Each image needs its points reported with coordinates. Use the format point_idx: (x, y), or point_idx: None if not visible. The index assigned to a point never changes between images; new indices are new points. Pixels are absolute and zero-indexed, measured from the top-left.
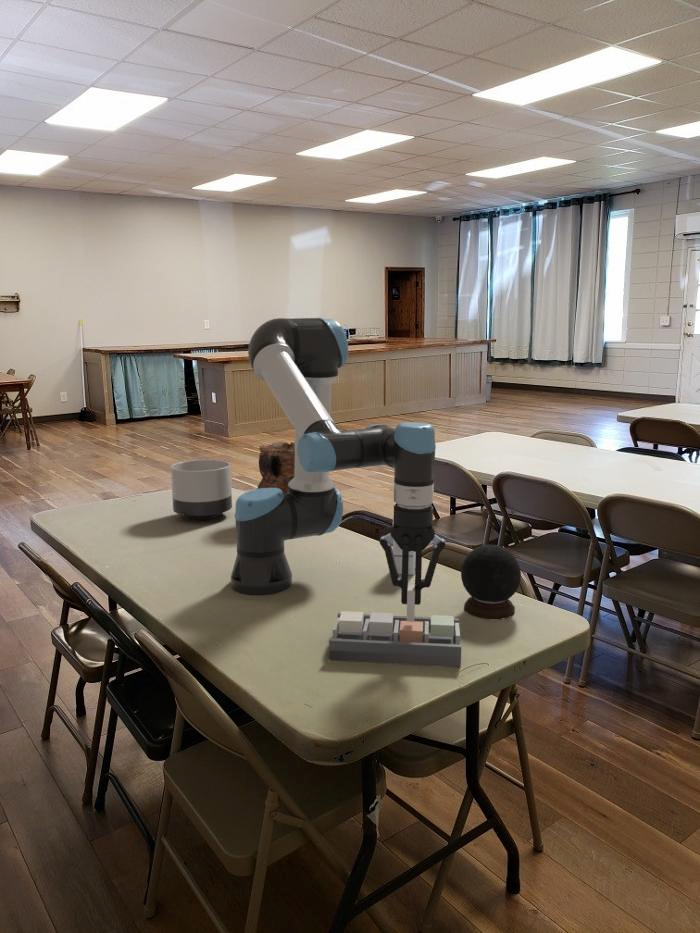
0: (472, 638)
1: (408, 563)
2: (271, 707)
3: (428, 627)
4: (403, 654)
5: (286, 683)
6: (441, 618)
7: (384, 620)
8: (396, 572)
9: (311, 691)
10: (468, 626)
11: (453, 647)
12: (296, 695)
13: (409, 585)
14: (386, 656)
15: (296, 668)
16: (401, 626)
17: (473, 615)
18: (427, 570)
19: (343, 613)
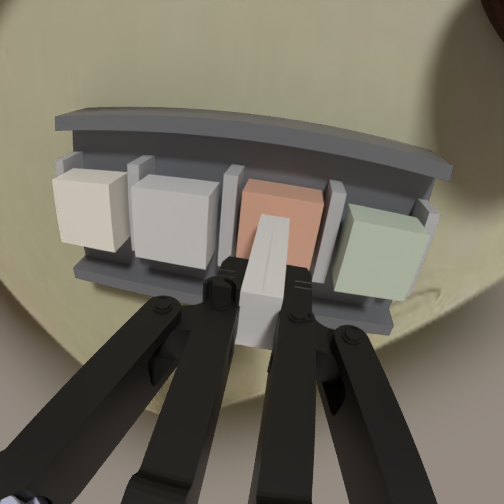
0: (461, 167)
1: (210, 428)
2: (78, 358)
3: (334, 239)
4: None
5: (67, 315)
6: (384, 250)
7: (179, 251)
8: (151, 387)
9: (105, 340)
10: (471, 89)
11: (371, 331)
12: (92, 344)
13: (250, 293)
14: None
15: (61, 276)
16: (242, 235)
17: (495, 28)
18: (345, 414)
19: (59, 195)
